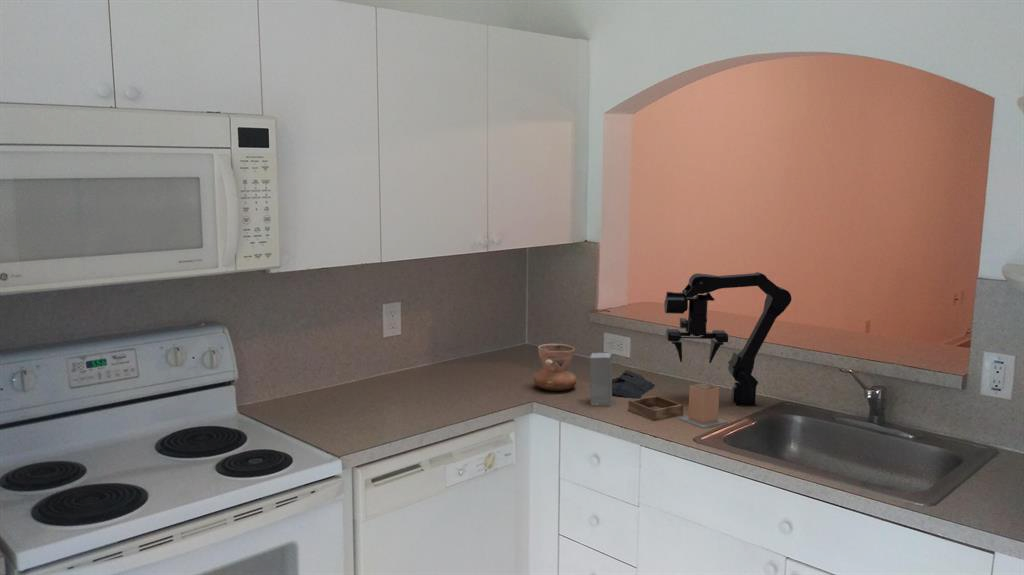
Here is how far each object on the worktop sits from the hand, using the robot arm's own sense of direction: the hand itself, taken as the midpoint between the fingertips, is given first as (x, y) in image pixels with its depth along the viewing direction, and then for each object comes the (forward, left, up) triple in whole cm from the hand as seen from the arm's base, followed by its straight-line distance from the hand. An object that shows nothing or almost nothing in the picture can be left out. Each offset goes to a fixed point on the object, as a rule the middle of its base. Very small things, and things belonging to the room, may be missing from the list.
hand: (695, 362), depth 255 cm
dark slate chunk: (+20, -12, -14) cm, 27 cm away
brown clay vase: (+44, -13, -13) cm, 48 cm away
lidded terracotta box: (+1, +21, -12) cm, 24 cm away
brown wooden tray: (+14, +14, -13) cm, 24 cm away
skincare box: (+30, +4, -13) cm, 33 cm away
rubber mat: (+1, +21, -13) cm, 25 cm away
